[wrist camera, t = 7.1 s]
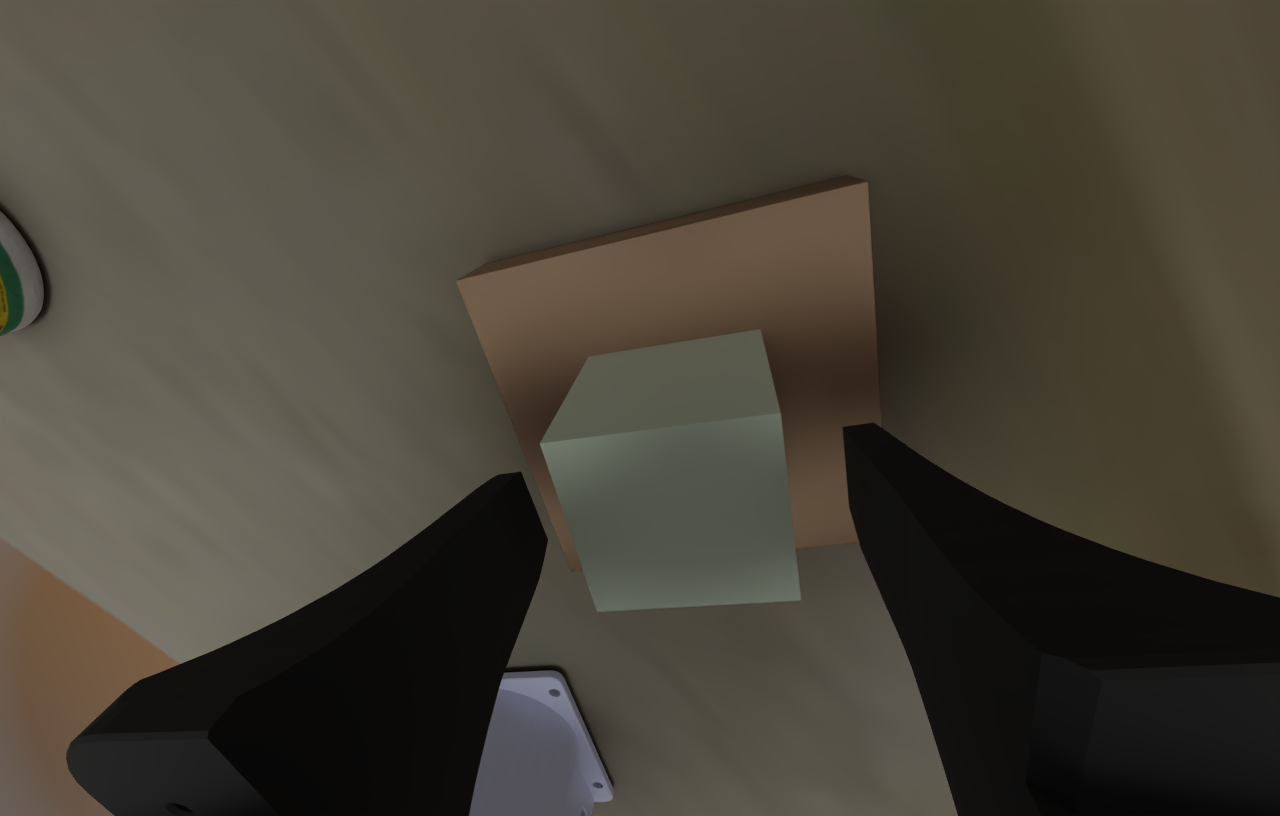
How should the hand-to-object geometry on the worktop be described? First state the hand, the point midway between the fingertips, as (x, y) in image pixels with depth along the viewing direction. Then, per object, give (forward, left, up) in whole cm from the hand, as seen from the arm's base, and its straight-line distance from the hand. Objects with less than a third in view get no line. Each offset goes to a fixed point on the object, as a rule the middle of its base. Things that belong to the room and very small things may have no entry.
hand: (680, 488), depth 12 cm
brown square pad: (0, 0, -6) cm, 6 cm away
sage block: (0, 0, -3) cm, 3 cm away
